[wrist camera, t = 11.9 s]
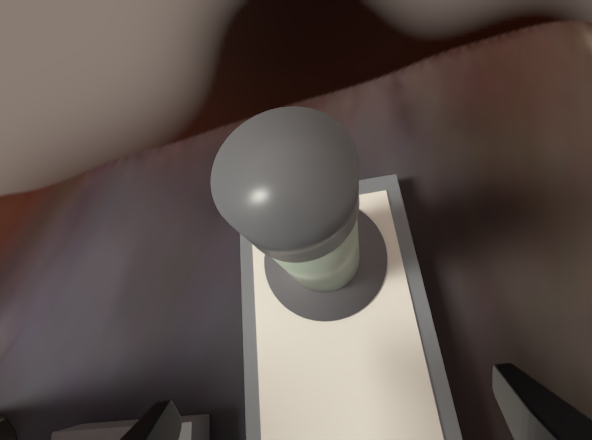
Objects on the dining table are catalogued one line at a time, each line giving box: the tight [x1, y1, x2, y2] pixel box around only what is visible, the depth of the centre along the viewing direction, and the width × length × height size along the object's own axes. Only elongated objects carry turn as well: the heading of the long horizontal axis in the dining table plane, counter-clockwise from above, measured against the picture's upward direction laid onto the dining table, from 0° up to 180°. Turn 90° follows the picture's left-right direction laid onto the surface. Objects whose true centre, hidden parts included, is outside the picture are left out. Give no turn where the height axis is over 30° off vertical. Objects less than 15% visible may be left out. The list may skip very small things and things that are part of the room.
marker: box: [211, 107, 360, 293], centre depth 13 cm, size 4×4×10 cm
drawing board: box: [240, 174, 463, 440], centre depth 17 cm, size 16×10×1 cm, turn 6°
